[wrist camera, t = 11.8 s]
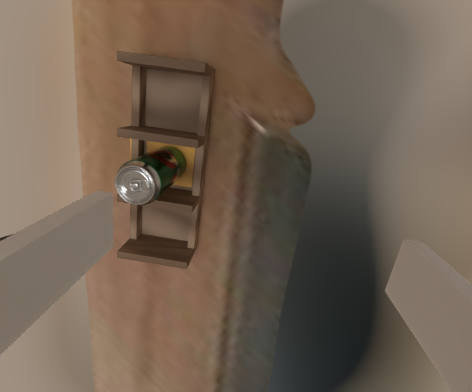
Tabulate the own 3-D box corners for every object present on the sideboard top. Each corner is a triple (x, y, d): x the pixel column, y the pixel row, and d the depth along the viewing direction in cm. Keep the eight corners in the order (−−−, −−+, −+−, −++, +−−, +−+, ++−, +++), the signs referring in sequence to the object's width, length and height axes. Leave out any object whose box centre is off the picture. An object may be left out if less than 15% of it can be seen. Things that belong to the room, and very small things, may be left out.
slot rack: (139, 59, 38) (115, 50, 31) (214, 69, 37) (205, 62, 31) (135, 236, 46) (115, 257, 40) (196, 246, 46) (186, 269, 39)
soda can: (150, 146, 40) (106, 163, 29) (184, 144, 40) (153, 160, 29) (156, 181, 42) (117, 209, 31) (189, 178, 41) (161, 207, 30)
